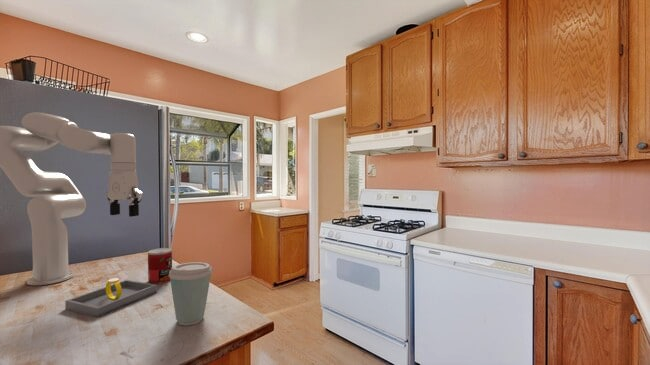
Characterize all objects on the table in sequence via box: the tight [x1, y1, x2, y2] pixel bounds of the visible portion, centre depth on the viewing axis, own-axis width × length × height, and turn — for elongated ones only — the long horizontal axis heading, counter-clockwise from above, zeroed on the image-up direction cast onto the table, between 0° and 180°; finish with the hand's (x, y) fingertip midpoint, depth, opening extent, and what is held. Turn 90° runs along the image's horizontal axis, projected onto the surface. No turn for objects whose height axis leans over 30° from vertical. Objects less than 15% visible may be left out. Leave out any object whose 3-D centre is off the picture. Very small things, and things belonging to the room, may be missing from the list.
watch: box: [105, 277, 122, 300], centre depth 89 cm, size 6×3×6 cm, turn 66°
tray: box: [64, 279, 158, 318], centre depth 90 cm, size 14×18×2 cm
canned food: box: [147, 247, 173, 284], centre depth 107 cm, size 8×8×11 cm
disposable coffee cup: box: [169, 261, 213, 326], centre depth 77 cm, size 11×11×15 cm
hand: (124, 215), depth 104 cm, fingers open, 9 cm apart
